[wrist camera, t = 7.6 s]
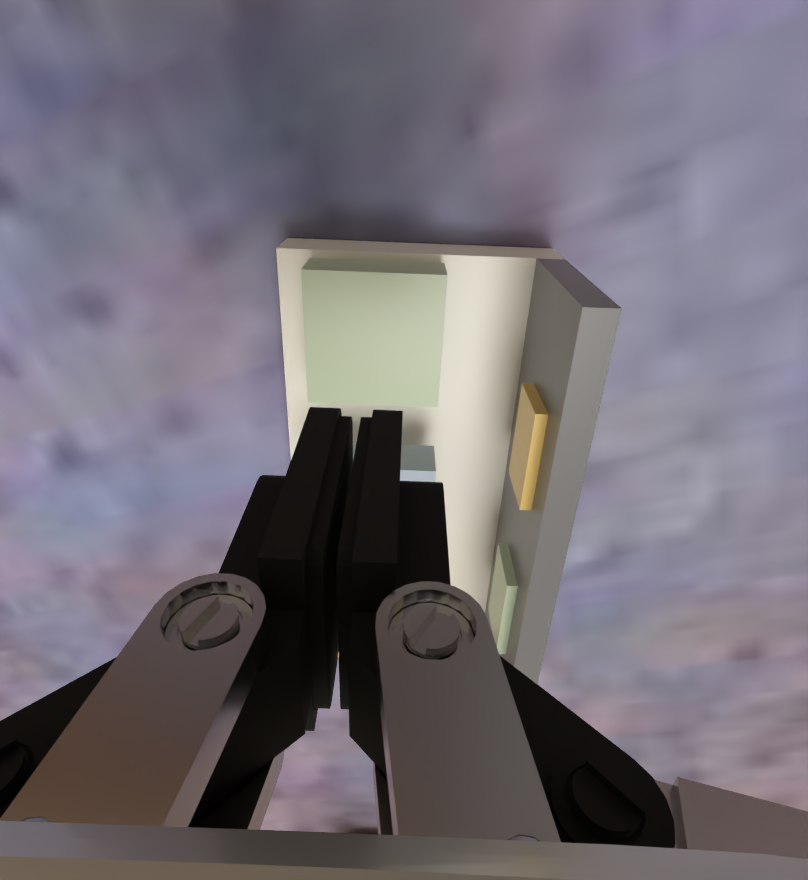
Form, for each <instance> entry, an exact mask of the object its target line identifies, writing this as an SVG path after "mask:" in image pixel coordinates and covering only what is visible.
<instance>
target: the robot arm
mask: <svg viewBox="0 0 808 880" xmlns="http://www.w3.org/2000/svg"><path fill="white" fill-rule="evenodd" d="M402 418H403V411H396V410H373V413H372V417H361V419H360V425H359V431H358V437H357V442H356V448H355V454H354V460H353V421H352V416H342V413H341V408H322V407H310V408H309V410H308V413H307V416H306V419H305V422H304V425H303V428H302V431H301V433H300V436H299V439H298V442H297V445H296V448H295V451H294V454H293V456H292V459H291V462H290V465H289V468H288V471H287V474H286V476H272V475H262V476H260V477H259V479H258V481H257V483H256V485H255V488H254V490H253V492H252V495H251V497H250V500H249V502H248V504H247V507H246V509H245V511H244V514H243V516H242V519H241V521H240V523H239V526H238V528H237V531H236V533H235V535H234V538H233V540H232V543H231V545H230V547H229V550H228V552H227V554H226V557H225V559H224V562H223V564H222V566H221V569H220V571H219V573H214V574H208V575H203V576H198V577H195V578H193V579H190V580H187V581H185V582H182V583H180V584H179V585H177V586H176V587H174V588H173V589H171V590H170V591H168V592H167V593H166V594H165V595H164V596H163V597H162V598H161V599H160V600H159V601H158V602H157V603H156V604H155V605H154V607H153V608H152V609H151V611H150V612H149V614H148V615H147V616H146V618H145V619H144V620H143V622H142V623H141V625H140V626H139V627H138V629H137V630H136V632H135V633H134V634H133V636H132V637H131V638H130V640H129V641H128V643H127V644H126V645H125V647H124V648H123V649H122V651H121V652H120V654H119V655H118V656H117V657H116V658H114V659H112V660H111V661H109V662H107V663H105V664H103V665H102V666H100V667H98V668H96V669H94V670H92V671H91V672H89V673H87V674H85V675H83V676H82V677H80V678H78V679H76V680H74V681H72V682H71V683H69V684H67V685H65V686H63V687H61V688H60V689H58V690H56V691H54V692H52V693H51V694H49V695H47V696H45V697H43V698H41V699H40V700H38V701H36V702H34V703H32V704H31V705H29V706H27V707H25V708H23V709H21V710H20V711H18V712H16V713H14V714H12V715H11V716H9V717H7V718H5V719H3V720H1V721H0V880H808V812H807V811H803V810H800V809H796V808H792V807H788V806H784V805H781V804H777V803H773V802H769V801H766V800H762V799H758V798H754V797H751V796H747V795H743V794H739V793H736V792H732V791H728V790H724V789H720V788H717V787H713V786H709V785H705V784H702V783H698V782H694V781H690V780H687V779H683V778H679V777H677V778H676V780H675V782H674V784H673V785H671V784H667V783H664V782H660V781H656V780H654V779H653V777H652V776H651V775H650V774H649V773H648V772H647V771H646V770H645V769H643V768H642V767H641V766H640V765H639V764H638V763H637V762H636V761H635V760H634V759H633V758H631V757H630V756H629V755H628V754H626V753H625V752H624V751H622V750H621V749H620V748H619V747H617V746H616V745H615V744H613V743H612V742H611V741H609V740H608V739H607V738H606V737H604V736H603V735H602V734H600V733H599V732H598V731H597V730H595V729H594V728H593V727H591V726H590V725H589V724H588V723H586V722H585V721H584V720H582V719H581V718H580V717H579V716H577V715H576V714H575V713H573V712H572V711H571V710H570V709H568V708H567V707H566V706H564V705H563V704H562V703H560V702H559V701H558V700H557V699H555V698H554V697H553V696H551V695H550V694H549V693H548V692H546V691H545V690H544V689H542V688H541V687H540V686H539V685H537V684H536V683H535V682H533V681H532V680H531V679H530V678H528V677H527V676H526V675H524V674H523V673H522V672H521V671H519V670H518V669H517V668H515V667H514V666H513V665H511V664H510V663H509V662H508V661H506V660H505V659H504V658H502V657H501V656H500V655H499V652H498V649H497V646H496V643H495V640H494V637H493V634H492V631H491V628H490V625H489V622H488V619H487V617H486V615H485V613H484V611H483V609H482V607H481V605H480V604H479V603H478V602H477V601H476V600H475V599H474V598H473V597H472V596H470V595H469V594H468V593H466V592H464V591H462V590H461V589H459V588H457V587H455V586H452V585H451V582H450V569H449V555H448V541H447V527H446V513H445V500H444V487H443V483H442V482H422V481H400V468H401V443H402ZM338 652H339V677H340V706H341V709H349V728H350V737H351V738H352V739H353V740H354V741H355V742H356V743H357V744H358V745H359V747H360V748H361V749H362V750H363V751H364V752H365V753H366V754H367V755H368V756H369V758H370V759H371V760H372V761H373V779H374V790H375V802H376V814H377V826H378V834H352V833H326V832H300V831H274V830H260V828H261V825H262V822H263V819H264V816H265V813H266V811H267V808H268V805H269V802H270V799H271V796H272V794H273V791H274V788H275V785H276V782H277V779H278V777H279V774H280V771H281V767H282V762H283V757H284V750H285V749H286V748H287V747H289V746H290V745H291V744H292V743H294V742H295V741H296V740H298V739H299V738H300V737H301V736H303V735H304V734H305V730H307V731H314V729H315V723H316V717H317V710H318V708H328V709H330V706H331V701H332V695H333V688H334V680H335V673H336V666H337V659H338Z"/></svg>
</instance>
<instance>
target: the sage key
mask: <svg viewBox="0 0 808 880" xmlns="http://www.w3.org/2000/svg"><path fill="white" fill-rule="evenodd" d="M447 276H448V275H447V271H446V267H445V263H434V262H408V261H383V260H358V259H332V258H309V259H308V261H307V262H306V263H305V265H304V266H303V267H302V269H301V279H302V299H303V319H304V339H305V359H306V379H307V399H308V402H311V403H339V404H366V405H394V406H421V407H438V400H439V386H440V372H441V358H442V345H443V331H444V317H445V303H446V290H447Z"/></svg>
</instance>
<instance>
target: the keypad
mask: <svg viewBox="0 0 808 880" xmlns="http://www.w3.org/2000/svg"><path fill="white" fill-rule="evenodd" d="M276 252H277V267H278V281H279V296H280V310H281V324H282V339H283V353H284V368H285V382H286V396H287V411H288V425H289V440H290V454H291V459H292V456H293V454H294V451H295V448H296V445H297V442H298V439H299V436H300V433H301V431H302V428H303V425H304V422H305V419H306V416H307V413H308V410H309V408H310V407H322V408H341V413H342V416H352V421H353V443H356V442H357V437H358V431H359V425H360V419H361V417H372V413H373V410H396V411H403V418H402V443H401V445H421V446H434V452H435V465H436V478H435V482H442V483H443V487H444V500H445V513H446V527H447V541H448V555H449V569H450V582H451V585H452V586H455V587H457V588H459V589H461V590H462V591H464V592H466V593H468V594H469V595H470V596H472V597H473V598H474V599H475V600H476V601H477V602H478V603H479V604H480V605H481V607H482V609H483V611H484V613H485V615H486V617H487V619H488V622H489V625H490V628H491V631H492V634H493V637H494V640H495V643H496V646H497V649H498V652H499V655H500V656H501V657H502V658H504V659H505V660H506V661H508V662H509V663H510V664H511V665H513V666H514V667H515V668H517V669H518V670H519V671H521V672H522V673H523V674H524V675H526V676H527V677H528V678H530V679H531V680H532V681H533V682H535V683H536V684H537V683H538V678H539V674H540V670H541V665H542V661H543V656H544V652H545V647H546V643H547V638H548V634H549V630H550V625H551V621H552V616H553V612H554V607H555V603H556V599H557V594H558V590H559V585H560V581H561V576H562V572H563V567H564V563H565V559H566V554H567V550H568V545H569V541H570V536H571V532H572V527H573V523H574V519H575V514H576V510H577V505H578V501H579V496H580V492H581V487H582V483H583V479H584V474H585V470H586V465H587V461H588V456H589V452H590V448H591V443H592V439H593V434H594V430H595V425H596V421H597V416H598V412H599V408H600V403H601V399H602V394H603V390H604V385H605V381H606V376H607V372H608V368H609V363H610V359H611V354H612V350H613V345H614V341H615V337H616V332H617V328H618V323H619V319H620V314H621V310H622V308H620V307H619V306H618V305H617V304H616V303H615V302H614V301H612V300H611V299H610V298H609V297H608V296H607V295H605V294H604V293H603V292H602V291H601V290H600V289H599V288H597V287H596V286H595V285H594V284H593V283H592V282H591V281H589V280H588V279H587V278H586V277H585V276H584V275H582V274H581V273H580V272H579V271H578V270H577V269H576V268H574V267H573V266H572V265H571V264H570V263H569V262H568V261H566V260H565V259H564V258H563V257H562V256H561V255H559V254H558V253H557V252H556V251H555V250H554V249H553V248H528V247H503V246H478V245H453V244H427V243H402V242H377V241H352V240H326V239H301V238H286V239H285V240H284V241H283V242H282V243H281V244H280V245H279V246H278V247H277V248H276ZM309 258H332V259H358V260H383V261H408V262H434V263H445V267H446V271H447V275H448V276H447V290H446V303H445V317H444V331H443V345H442V358H441V372H440V386H439V400H438V407H421V406H394V405H366V404H339V403H311V402H308V399H307V379H306V359H305V339H304V319H303V299H302V279H301V269H302V267H303V266H304V265H305V263H306V262H307V261H308V259H309Z"/></svg>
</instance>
